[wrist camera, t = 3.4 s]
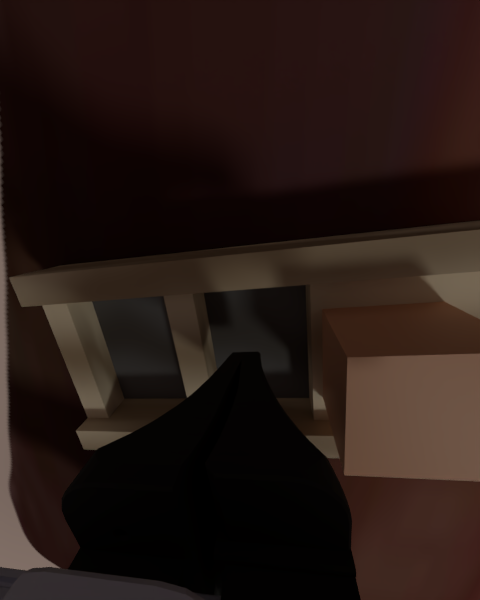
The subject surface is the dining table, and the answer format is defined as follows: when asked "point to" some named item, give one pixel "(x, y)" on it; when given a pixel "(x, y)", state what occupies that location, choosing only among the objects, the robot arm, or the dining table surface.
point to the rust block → (403, 390)
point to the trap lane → (235, 316)
